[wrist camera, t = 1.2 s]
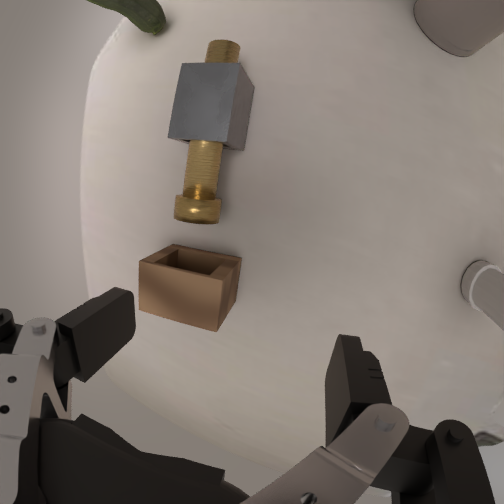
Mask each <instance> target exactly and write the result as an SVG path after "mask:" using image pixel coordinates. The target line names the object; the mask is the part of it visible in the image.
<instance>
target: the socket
mask: <svg viewBox="0 0 504 504" xmlns="http://www.w3.org/2000/svg"><path fill="white" fill-rule="evenodd" d="M241 261H242V258H239V257H234V256H229V255H224V254H219V253H214V252H209V251H204V250H199V249H194V248H189V247H185V246H180V245H175V244H172V245H170V246H168V247H166V248H164V249H162V250H160V251H158V252H156V253H154V254H152V255H150V256H148V257H146V258H144V259H142V260H140V261H139V310H141V311H144V312H147V313H150V314H154V315H157V316H160V317H163V318H167V319H170V320H174V321H177V322H180V323H184V324H188V325H191V326H195V327H198V328H202V329H206V330H210V331H214V332H217V331H218V329H219V328H220V326H221V324H222V323H223V321H224V319H225V318H226V316H227V314H228V313H229V311H230V309H231V308H232V306H233V305H234V303H235V301H236V295H237V288H238V281H239V274H240V268H241Z"/></svg>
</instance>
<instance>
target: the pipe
mask: <svg viewBox="0 0 504 504" xmlns="http://www.w3.org/2000/svg"><path fill="white" fill-rule="evenodd" d="M461 287H462V294H463V296H464V298H465V299H466V300H467V301H468V302H469V303H470V305H471V306H472V307H473V308H474V309H476V310H477V311H483V312H484V313H485V314H486V315H487V316H488V317H490V318H491V319H492V320H493V321H494V322H495V323H496V324H497V325H498V326H499V327H500V328H501V329H502V330H504V274H503V273H502V272H501V270H500V269H499V268H498V267H497V266H496V265H494V264H490V263H488V262H486V261H481V260H480V261H477V262H475V263H473V264H472V265H471V266H470V267H468V268H467V270H466V272H465V274H464V275H463V279H462V283H461Z"/></svg>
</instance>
